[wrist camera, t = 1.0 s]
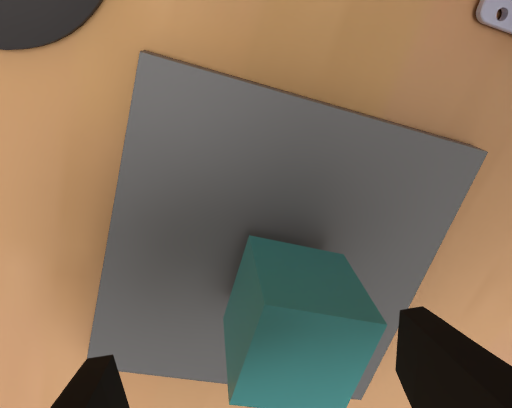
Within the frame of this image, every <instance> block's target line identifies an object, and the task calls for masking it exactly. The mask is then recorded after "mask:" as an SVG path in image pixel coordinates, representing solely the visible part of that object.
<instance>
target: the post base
mask: <svg viewBox="0 0 512 408" xmlns="http://www.w3.org/2000/svg"><path fill="white" fill-rule="evenodd" d="M487 153H488V152H487V151H484V150H482V149H480V148H477V147H475V146H473V145H470V144H466V143H463V142H459V141H456V140H452V139H449V138H445V137H442V136H439V135H435V134H432V133H428V132H425V131H421V130H418V129H414V128H411V127H408V126H404V125H401V124H397V123H394V122H390V121H387V120H383V119H380V118H377V117H373V116H370V115H366V114H363V113H359V112H356V111H352V110H349V109H345V108H342V107H339V106H335V105H332V104H328V103H325V102H321V101H318V100H314V99H311V98H308V97H304V96H301V95H297V94H294V93H290V92H287V91H283V90H280V89H277V88H273V87H270V86H266V85H263V84H259V83H256V82H252V81H249V80H246V79H242V78H239V77H235V76H232V75H228V74H225V73H221V72H218V71H215V70H211V69H208V68H204V67H201V66H197V65H194V64H190V63H187V62H184V61H180V60H177V59H173V58H170V57H166V56H163V55H159V54H156V53H153V52H149V51H146V50H143V51H140V54H139V60H138V66H137V72H136V78H135V83H134V89H133V95H132V101H131V107H130V112H129V118H128V124H127V130H126V136H125V141H124V147H123V153H122V159H121V164H120V170H119V176H118V182H117V188H116V193H115V199H114V205H113V211H112V217H111V222H110V228H109V234H108V240H107V246H106V251H105V257H104V263H103V269H102V275H101V280H100V286H99V292H98V298H97V304H96V309H95V315H94V321H93V327H92V332H91V338H90V344H89V350H88V356H87V358H93V357H99V356H106V355H112V354H113V356H114V359H115V362H116V365H117V369H118V371H121V372H130V373H138V374H147V375H155V376H164V377H172V378H181V379H189V380H197V381H206V382H214V383H223V384H228V381H227V367H226V352H225V338H224V323H223V317H224V314H225V310H226V307H227V304H228V301H229V298H230V295H231V291H232V288H233V285H234V282H235V279H236V275H237V272H238V269H239V266H240V263H241V260H242V256H243V253H244V250H245V247H246V244H247V240H248V237H249V235H251V236H256V237H261V238H265V239H270V240H275V241H280V242H285V243H290V244H295V245H300V246H305V247H310V248H315V249H320V250H324V251H329V252H334V253H339V254H344V256H345V257H346V259H347V261H348V262H349V264H350V265H351V267H352V269H353V270H354V272H355V274H356V275H357V277H358V278H359V280H360V282H361V283H362V285H363V286H364V288H365V290H366V291H367V293H368V294H369V296H370V298H371V299H372V301H373V302H374V304H375V306H376V307H377V309H378V311H379V312H380V314H381V315H382V317H383V319H384V320H385V322H386V323H387V327H386V329H385V331H384V333H383V335H382V337H381V339H380V341H379V343H378V345H377V347H376V349H375V351H374V353H373V355H372V357H371V359H370V361H369V363H368V365H367V367H366V369H365V371H364V373H363V375H362V377H361V379H360V381H359V383H358V385H357V387H356V389H355V391H354V393H353V395H352V397H351V399H358V400H361V399H362V397H363V395H364V393H365V391H366V389H367V387H368V386H369V384H370V382H371V380H372V378H373V376H374V374H375V372H376V370H377V368H378V366H379V364H380V362H381V360H382V358H383V356H384V354H385V352H386V350H387V348H388V346H389V345H390V343H391V341H392V339H393V337H394V335H395V333H396V331H397V329H398V327H399V313H400V310H403V309H408V307H409V305H410V303H411V302H412V300H413V298H414V296H415V294H416V292H417V290H418V288H419V286H420V284H421V282H422V280H423V278H424V276H425V274H426V272H427V270H428V268H429V266H430V264H431V262H432V260H433V259H434V257H435V255H436V253H437V251H438V249H439V247H440V245H441V243H442V241H443V239H444V237H445V235H446V233H447V231H448V229H449V227H450V225H451V223H452V221H453V219H454V217H455V216H456V214H457V212H458V210H459V208H460V206H461V204H462V202H463V200H464V198H465V196H466V194H467V192H468V190H469V188H470V186H471V184H472V182H473V180H474V178H475V176H476V175H477V173H478V171H479V169H480V167H481V165H482V163H483V161H484V159H485V157H486V155H487Z"/></svg>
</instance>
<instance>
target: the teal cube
mask: <svg viewBox="0 0 512 408" xmlns="http://www.w3.org/2000/svg"><path fill="white" fill-rule="evenodd" d="M223 323H224V338H225V352H226V367H227V381H228V395H229V405H238V406H247V407H257V408H346V407H347V405H348V403H349V401H350V399H351V397H352V395H353V393H354V391H355V389H356V387H357V385H358V383H359V381H360V379H361V377H362V375H363V373H364V371H365V369H366V367H367V365H368V363H369V361H370V359H371V357H372V355H373V353H374V351H375V349H376V347H377V345H378V343H379V341H380V339H381V337H382V335H383V333H384V331H385V329H386V327H387V323H386V322H385V320H384V319H383V317H382V315H381V314H380V312H379V311H378V309H377V307H376V306H375V304H374V302H373V301H372V299H371V298H370V296H369V294H368V293H367V291H366V290H365V288H364V286H363V285H362V283H361V282H360V280H359V278H358V277H357V275H356V274H355V272H354V270H353V269H352V267H351V265H350V264H349V262H348V261H347V259H346V257H345V256H344V254H339V253H334V252H329V251H324V250H320V249H315V248H310V247H305V246H300V245H295V244H290V243H285V242H280V241H275V240H270V239H265V238H261V237H256V236H251V235H249V237H248V240H247V244H246V247H245V250H244V253H243V256H242V260H241V263H240V266H239V269H238V272H237V275H236V279H235V282H234V285H233V288H232V291H231V295H230V298H229V301H228V304H227V307H226V310H225V314H224V317H223Z"/></svg>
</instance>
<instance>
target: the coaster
mask: <svg viewBox="0 0 512 408" xmlns="http://www.w3.org/2000/svg"><path fill="white" fill-rule="evenodd" d="M102 1H103V0H0V49H2V50H14V49H28V48H34V47H39V46H44V45H47V44H50V43H53V42H56V41H58V40H60V39H62V38H64V37H66V36H68V35H70V34H71V33H73V32H74V31H75V30H77V29H78V28H79V27H81V26H82V25H83V24H84V23H85V22H86V21H87V20H88V19H89V18H90V17H91V16H92V15H93V14H94V12H95V11H96V10H97V8H98V7H99V5H100V4H101V3H102Z"/></svg>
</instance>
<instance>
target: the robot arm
mask: <svg viewBox="0 0 512 408" xmlns="http://www.w3.org/2000/svg"><path fill="white" fill-rule="evenodd" d="M499 9H501V11H502V15H501V17H500V19H499V20H497V18H496V14H497V12H498V10H499ZM476 18H477V20H478V21H479V22H480V23H482V24H485V25H488V26H490V27H493V28H496V29H498V30H501V31H504V32H507V33H509V34H512V0H480V2H479V4H478V7H477V10H476ZM396 372H397V375H398V377H399V379H400V382H401V384H402V386H403V389H404V391H405V393H406V396H407V398H408V400H409V402H410V405H411V407H412V408H512V366H511V365H509V364H507V363H506V362H504V361H503V360H501V359H500V358H498V357H497V356H495V355H494V354H492V353H491V352H489V351H488V350H486V349H485V348H483V347H482V346H480V345H479V344H477V343H476V342H474V341H473V340H471V339H470V338H468V337H467V336H465V335H464V334H462V333H461V332H460V331H458V330H457V329H455V328H454V327H452V326H451V325H449V324H448V323H447V322H445V321H444V320H442V319H441V318H439V317H438V316H436V315H435V314H433V313H432V312H430V311H429V310H427V309H426V308H424V307H416V308H410V309H403V310H400V313H399V327H398V342H397V356H396ZM51 408H129V404H128V401H127V398H126V395H125V391H124V388H123V385H122V382H121V378H120V375H119V372H118V369H117V365H116V362H115V359H114V356H113V354H112V355H106V356H99V357H93V358H87V360H86V361H85V362H84V363H83V365H82V366H81V367H80V369H79V370H78V371H77V373H76V374H75V375H74V377H73V378H72V379H71V381H70V382H69V383H68V385H67V386H66V387H65V389H64V390H63V391H62V393H61V394H60V396H59V397H58V398H57V400H56V401H55V402H54V404H53V405H52V406H51Z"/></svg>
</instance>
